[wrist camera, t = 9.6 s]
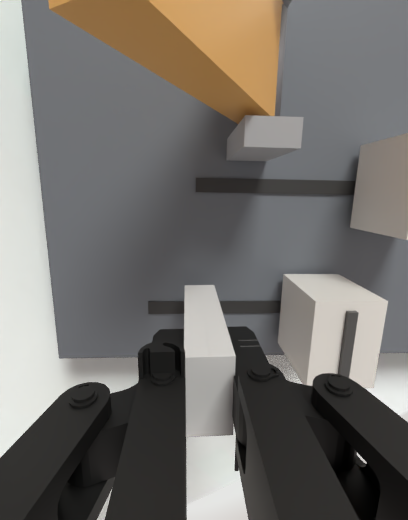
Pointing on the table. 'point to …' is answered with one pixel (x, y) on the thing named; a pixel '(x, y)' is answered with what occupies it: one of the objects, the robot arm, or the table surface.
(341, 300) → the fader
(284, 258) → the panel
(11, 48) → the table surface
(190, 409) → the robot arm
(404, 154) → the block
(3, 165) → the table surface
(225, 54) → the toggle paddle
